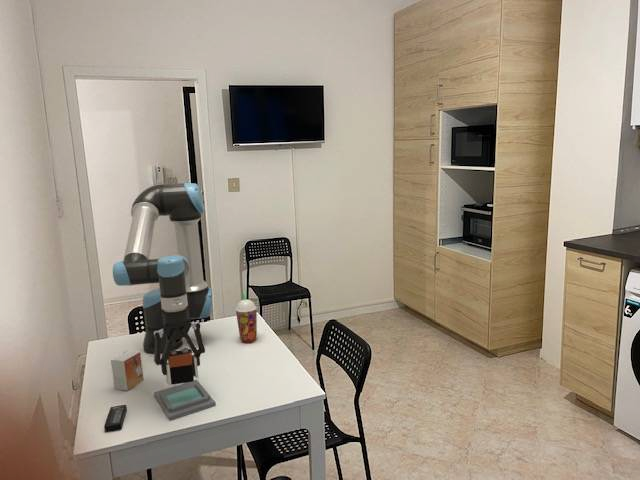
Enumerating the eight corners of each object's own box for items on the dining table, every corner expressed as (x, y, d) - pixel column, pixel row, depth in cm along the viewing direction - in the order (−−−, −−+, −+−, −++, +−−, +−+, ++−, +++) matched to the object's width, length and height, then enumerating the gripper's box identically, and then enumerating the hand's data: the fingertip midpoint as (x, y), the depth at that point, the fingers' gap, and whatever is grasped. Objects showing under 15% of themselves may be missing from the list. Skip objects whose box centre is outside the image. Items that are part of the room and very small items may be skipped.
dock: (154, 395, 153) (153, 388, 153) (196, 382, 160) (196, 376, 160) (169, 420, 138) (168, 413, 138) (215, 405, 145) (215, 398, 145)
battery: (194, 382, 145) (190, 351, 144) (170, 385, 144) (167, 354, 142) (194, 375, 150) (191, 345, 148) (171, 379, 148) (168, 348, 146)
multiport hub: (104, 433, 134) (103, 426, 133) (111, 413, 144) (110, 406, 144) (121, 430, 135) (120, 423, 134) (127, 411, 145) (126, 404, 145)
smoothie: (241, 336, 199) (238, 290, 195) (261, 336, 198) (257, 289, 194) (235, 344, 191) (231, 296, 187) (255, 344, 190) (252, 296, 186)
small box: (127, 391, 157) (123, 361, 155) (114, 389, 159) (110, 359, 157) (144, 380, 164) (140, 351, 162) (131, 378, 166) (127, 349, 164)
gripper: (142, 319, 134) (151, 394, 138) (212, 304, 145) (218, 375, 149) (136, 312, 141) (145, 384, 144) (204, 298, 151) (210, 366, 155)
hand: (182, 379), depth 147 cm, fingers closed on battery, 8 cm apart
